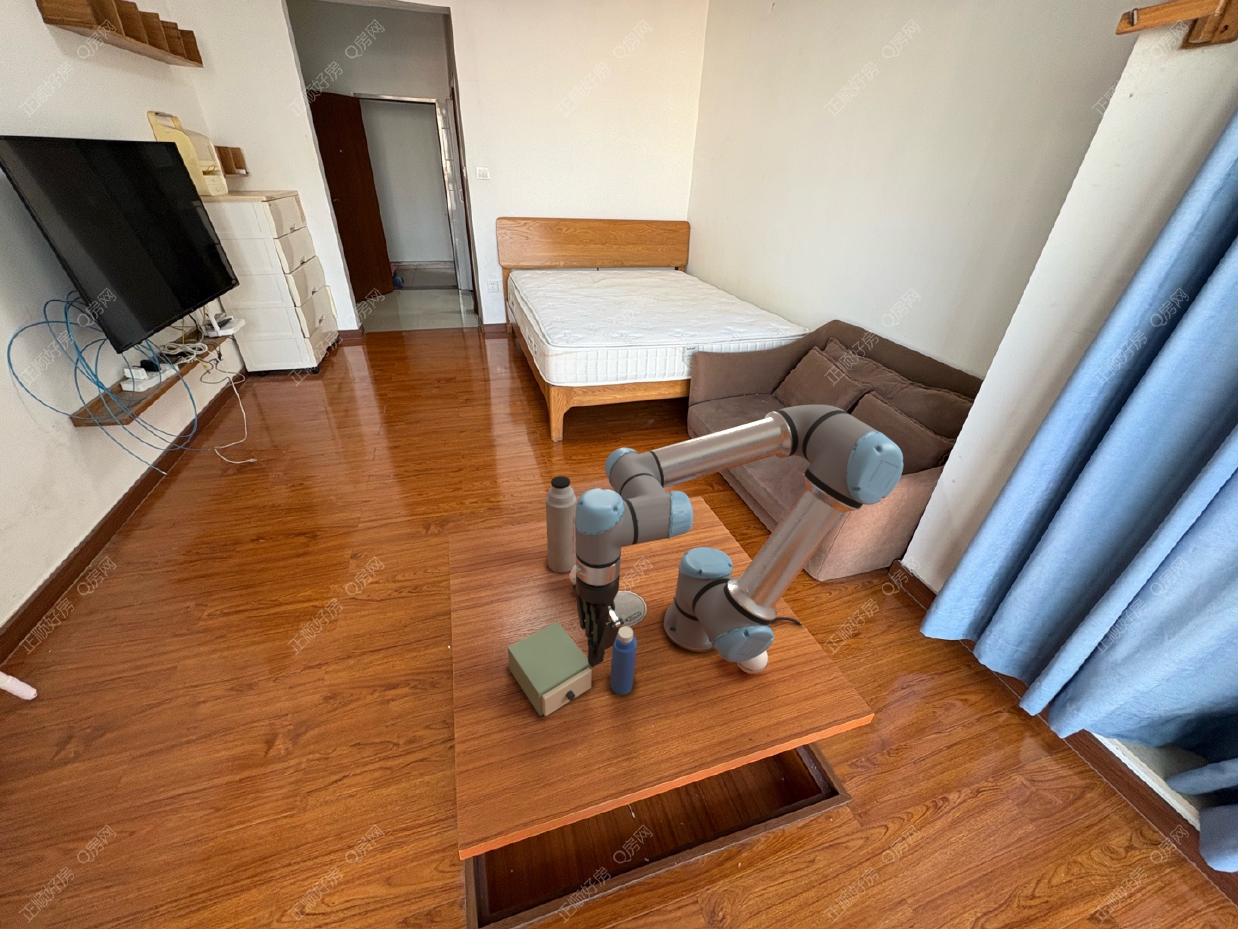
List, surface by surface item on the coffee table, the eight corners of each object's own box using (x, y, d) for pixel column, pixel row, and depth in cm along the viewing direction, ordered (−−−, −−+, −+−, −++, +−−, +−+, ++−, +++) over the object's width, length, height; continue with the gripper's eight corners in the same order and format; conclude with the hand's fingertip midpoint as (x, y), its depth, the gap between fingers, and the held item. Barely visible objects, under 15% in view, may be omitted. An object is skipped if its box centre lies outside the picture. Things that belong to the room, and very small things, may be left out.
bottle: (635, 678, 113) (640, 626, 104) (628, 697, 108) (634, 645, 100) (614, 671, 114) (617, 619, 105) (606, 690, 110) (610, 638, 101)
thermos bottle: (579, 556, 146) (580, 474, 132) (571, 574, 139) (571, 491, 125) (552, 551, 147) (550, 470, 133) (543, 569, 140) (540, 486, 126)
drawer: (594, 691, 108) (595, 674, 105) (548, 721, 102) (547, 704, 99) (560, 648, 117) (560, 631, 114) (516, 673, 111) (515, 656, 108)
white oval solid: (725, 661, 118) (730, 640, 114) (749, 649, 121) (755, 628, 117) (754, 695, 110) (761, 674, 107) (779, 682, 114) (786, 661, 110)
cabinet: (590, 685, 111) (591, 662, 107) (540, 716, 104) (538, 693, 100) (557, 643, 120) (557, 621, 116) (509, 669, 113) (507, 647, 109)
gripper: (558, 559, 88) (561, 648, 100) (602, 605, 79) (599, 696, 92) (593, 543, 92) (592, 630, 104) (638, 585, 83) (631, 675, 96)
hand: (595, 661), depth 98 cm, fingers closed
